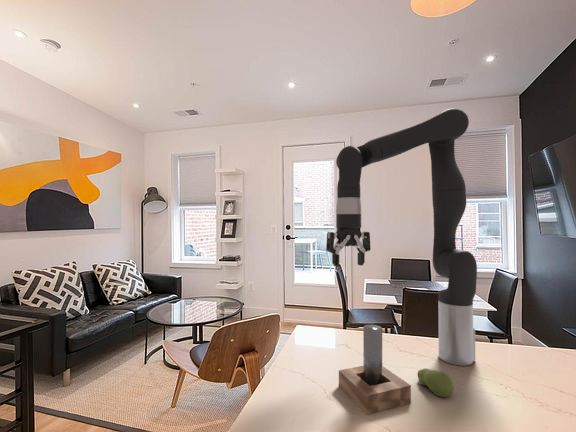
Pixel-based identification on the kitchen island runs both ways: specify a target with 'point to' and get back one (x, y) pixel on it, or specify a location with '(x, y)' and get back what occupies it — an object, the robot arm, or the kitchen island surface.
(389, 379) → the socket block
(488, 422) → the kitchen island surface
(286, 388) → the kitchen island surface
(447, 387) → the green rounded lump
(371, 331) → the pin
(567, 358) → the kitchen island surface
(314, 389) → the kitchen island surface
